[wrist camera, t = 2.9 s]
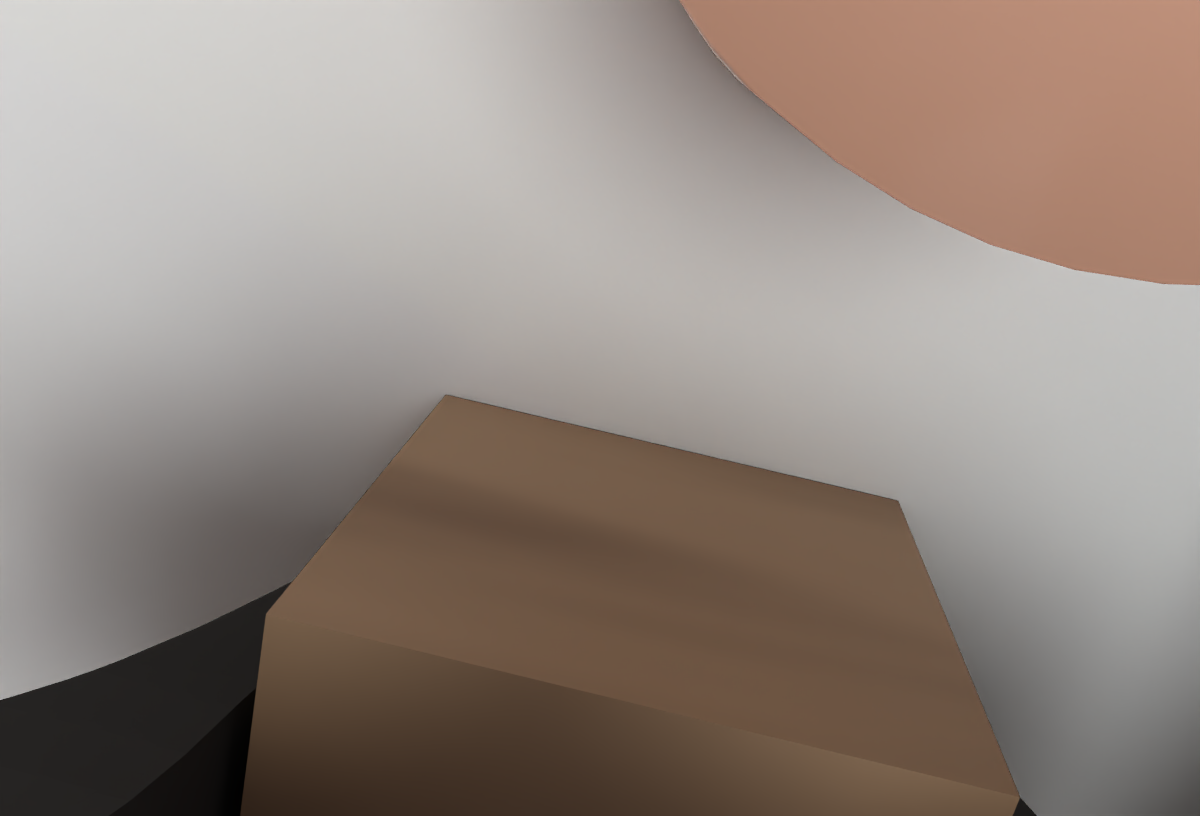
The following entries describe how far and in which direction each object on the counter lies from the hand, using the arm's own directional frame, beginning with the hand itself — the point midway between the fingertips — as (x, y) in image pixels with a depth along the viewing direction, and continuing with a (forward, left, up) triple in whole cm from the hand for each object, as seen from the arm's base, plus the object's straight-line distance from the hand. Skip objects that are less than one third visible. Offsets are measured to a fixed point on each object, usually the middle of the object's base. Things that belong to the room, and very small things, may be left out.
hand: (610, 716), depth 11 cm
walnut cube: (0, 0, -1) cm, 1 cm away
